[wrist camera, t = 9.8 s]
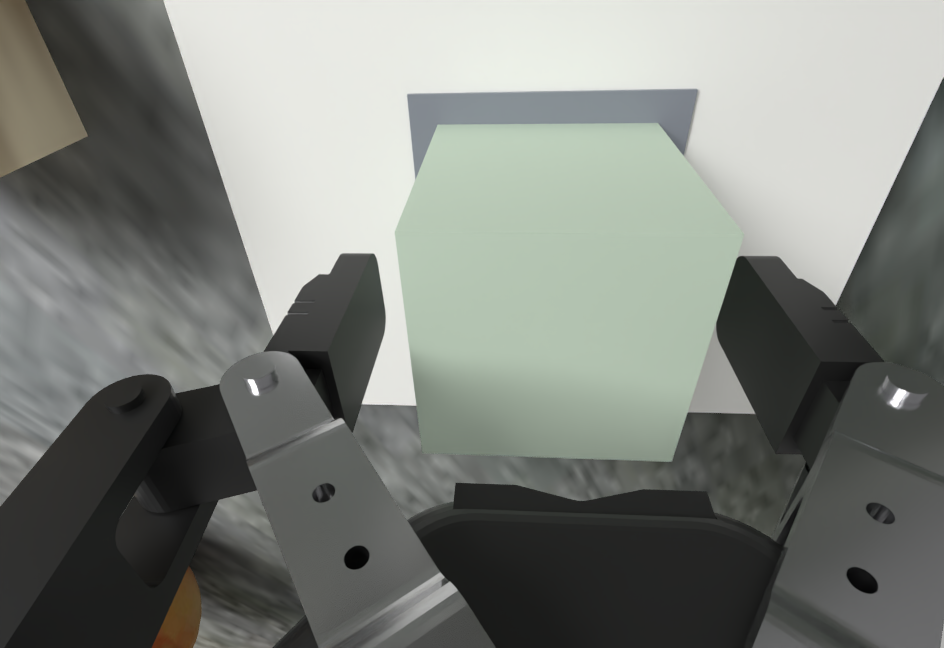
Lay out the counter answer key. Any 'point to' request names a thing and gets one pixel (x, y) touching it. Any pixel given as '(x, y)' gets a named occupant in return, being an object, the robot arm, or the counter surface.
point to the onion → (182, 616)
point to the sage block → (559, 289)
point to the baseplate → (555, 120)
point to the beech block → (30, 94)
